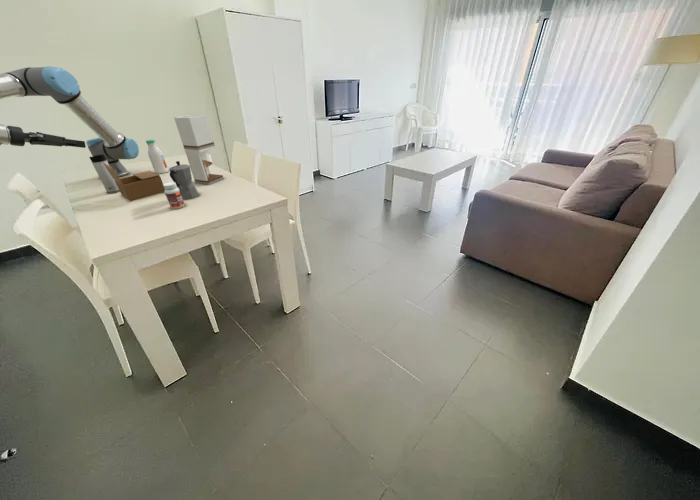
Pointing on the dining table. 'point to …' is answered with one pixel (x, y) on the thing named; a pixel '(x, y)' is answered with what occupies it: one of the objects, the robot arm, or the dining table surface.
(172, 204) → the pill bottle
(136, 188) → the carton
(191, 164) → the drip coffee maker
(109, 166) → the flap
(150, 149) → the milk bottle
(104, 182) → the travel mug
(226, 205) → the dining table surface
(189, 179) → the coffeepot
